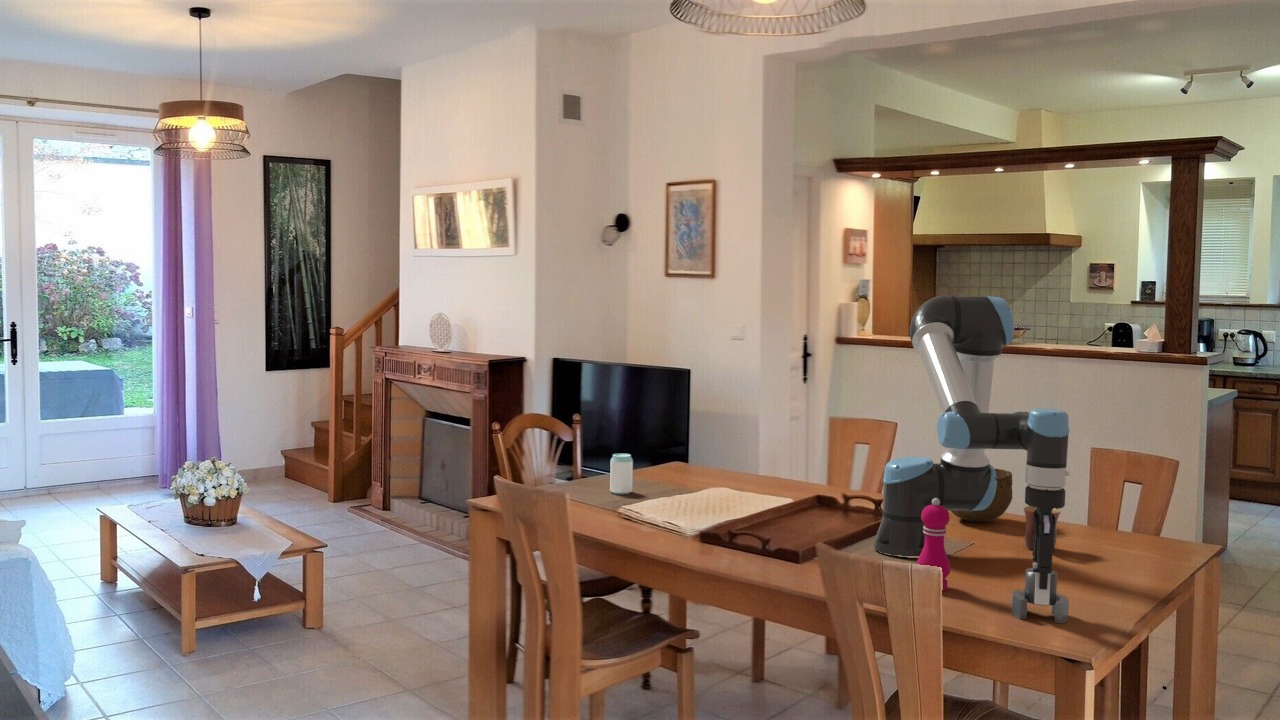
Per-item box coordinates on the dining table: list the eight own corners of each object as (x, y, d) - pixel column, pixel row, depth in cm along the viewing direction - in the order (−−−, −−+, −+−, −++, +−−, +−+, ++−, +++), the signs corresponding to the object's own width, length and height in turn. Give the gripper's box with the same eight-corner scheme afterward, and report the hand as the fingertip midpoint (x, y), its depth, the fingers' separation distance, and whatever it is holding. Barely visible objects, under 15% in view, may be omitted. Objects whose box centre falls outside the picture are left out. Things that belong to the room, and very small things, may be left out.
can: (607, 494, 320) (608, 456, 319) (612, 489, 327) (612, 452, 326) (630, 495, 318) (630, 457, 318) (634, 491, 325) (634, 453, 324)
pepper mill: (910, 582, 230) (914, 494, 228) (942, 582, 231) (945, 494, 229) (922, 592, 223) (926, 501, 221) (954, 592, 223) (958, 501, 222)
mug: (1019, 543, 267) (1021, 504, 266) (1054, 545, 265) (1056, 506, 265) (1027, 555, 255) (1028, 514, 255) (1064, 557, 254) (1066, 517, 253)
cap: (1025, 603, 206) (1026, 573, 206) (1023, 595, 212) (1024, 565, 211) (1057, 606, 204) (1059, 576, 204) (1054, 598, 210) (1055, 568, 210)
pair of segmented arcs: (1012, 618, 206) (1013, 599, 206) (1010, 607, 213) (1011, 588, 213) (1069, 624, 203) (1070, 604, 203) (1064, 613, 210) (1066, 594, 210)
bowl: (1018, 520, 294) (1020, 468, 293) (1002, 532, 279) (1004, 478, 277) (952, 511, 304) (954, 461, 303) (933, 523, 289) (935, 470, 287)
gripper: (1071, 496, 196) (1065, 615, 198) (1060, 479, 214) (1055, 588, 216) (1029, 493, 198) (1023, 611, 200) (1022, 477, 216) (1017, 584, 218)
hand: (1040, 599), depth 208 cm, fingers closed on cap, 6 cm apart
